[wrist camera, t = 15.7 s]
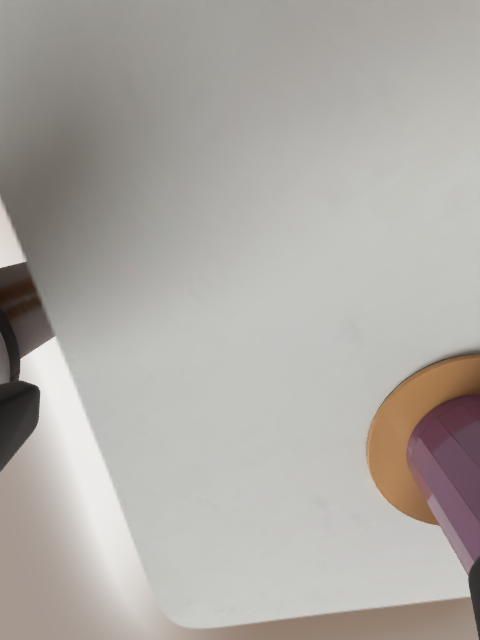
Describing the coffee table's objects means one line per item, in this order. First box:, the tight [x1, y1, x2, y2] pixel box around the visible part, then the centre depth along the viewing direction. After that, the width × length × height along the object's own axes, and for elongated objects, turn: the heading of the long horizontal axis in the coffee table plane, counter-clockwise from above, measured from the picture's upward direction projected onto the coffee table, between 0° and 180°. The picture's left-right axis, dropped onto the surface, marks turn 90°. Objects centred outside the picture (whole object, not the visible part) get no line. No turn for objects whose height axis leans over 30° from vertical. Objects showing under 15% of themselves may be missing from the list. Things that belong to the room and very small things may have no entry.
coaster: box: [366, 354, 480, 526], centre depth 21 cm, size 11×11×1 cm
